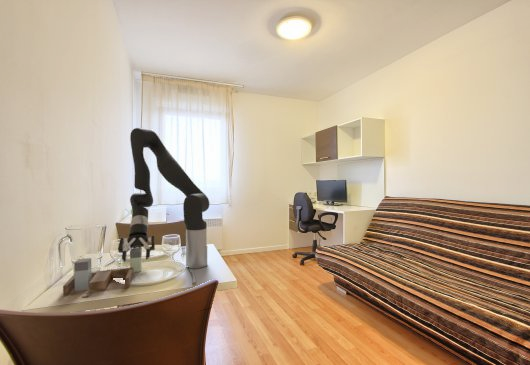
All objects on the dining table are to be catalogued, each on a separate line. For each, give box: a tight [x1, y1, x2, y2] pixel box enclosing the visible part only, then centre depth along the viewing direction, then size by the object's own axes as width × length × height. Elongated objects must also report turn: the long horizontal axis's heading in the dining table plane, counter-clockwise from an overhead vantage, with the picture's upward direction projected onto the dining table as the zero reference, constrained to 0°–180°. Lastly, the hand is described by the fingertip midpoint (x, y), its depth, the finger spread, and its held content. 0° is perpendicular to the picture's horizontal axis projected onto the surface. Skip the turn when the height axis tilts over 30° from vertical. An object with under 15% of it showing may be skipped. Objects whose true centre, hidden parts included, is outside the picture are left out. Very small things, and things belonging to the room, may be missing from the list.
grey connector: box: [73, 257, 92, 291], centre depth 91 cm, size 4×4×10 cm
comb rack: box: [62, 267, 134, 297], centre depth 93 cm, size 20×11×4 cm, turn 110°
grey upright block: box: [129, 247, 143, 273], centre depth 108 cm, size 4×4×10 cm
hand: (135, 259), depth 108 cm, fingers open, 8 cm apart
